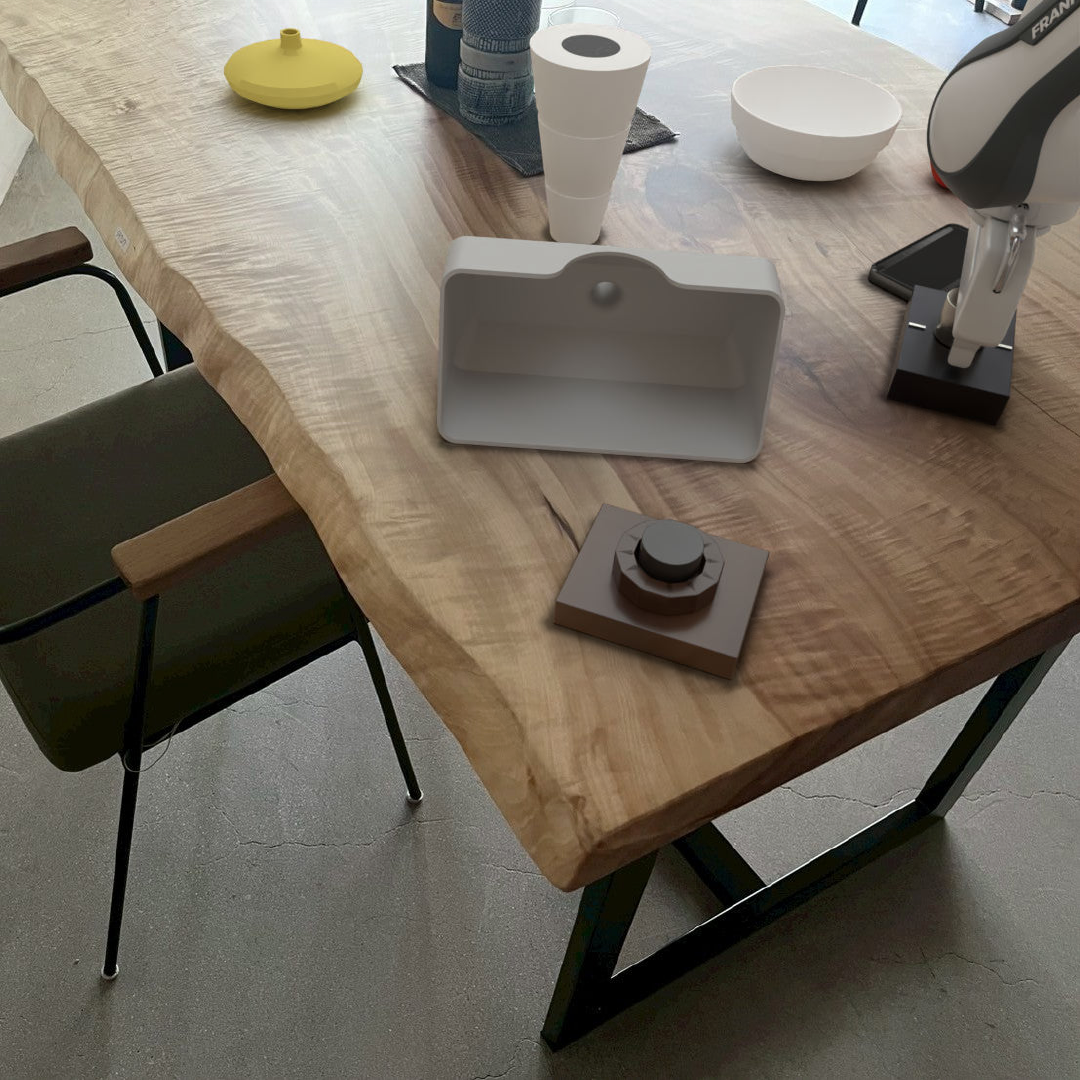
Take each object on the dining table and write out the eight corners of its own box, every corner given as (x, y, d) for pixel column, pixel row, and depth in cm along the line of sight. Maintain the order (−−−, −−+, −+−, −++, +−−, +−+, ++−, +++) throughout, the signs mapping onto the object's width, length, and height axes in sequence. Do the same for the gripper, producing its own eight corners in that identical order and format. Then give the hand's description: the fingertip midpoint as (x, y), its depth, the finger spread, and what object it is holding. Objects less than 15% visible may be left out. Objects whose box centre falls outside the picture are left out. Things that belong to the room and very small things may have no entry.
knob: (930, 342, 88) (945, 304, 86) (937, 316, 91) (951, 278, 88) (983, 357, 87) (1000, 318, 85) (988, 330, 90) (1005, 291, 87)
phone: (866, 267, 100) (953, 220, 107) (863, 277, 101) (949, 230, 108) (936, 304, 96) (1021, 253, 103) (932, 314, 97) (1017, 263, 104)
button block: (763, 572, 73) (776, 532, 70) (731, 680, 66) (743, 640, 63) (599, 524, 75) (605, 483, 72) (552, 623, 68) (556, 582, 66)
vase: (238, 65, 127) (228, 3, 122) (368, 70, 129) (364, 9, 124) (217, 122, 116) (206, 57, 111) (360, 126, 118) (356, 62, 113)
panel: (904, 312, 97) (915, 282, 95) (1004, 336, 95) (1017, 306, 93) (886, 397, 88) (897, 367, 85) (996, 425, 86) (1010, 395, 84)
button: (706, 549, 69) (710, 530, 68) (691, 591, 66) (695, 572, 65) (648, 532, 70) (651, 513, 68) (630, 572, 67) (634, 553, 66)
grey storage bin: (740, 344, 92) (770, 213, 83) (759, 464, 81) (796, 327, 72) (456, 324, 92) (456, 190, 83) (436, 442, 80) (433, 302, 72)
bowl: (872, 135, 124) (890, 73, 118) (893, 211, 111) (915, 144, 106) (717, 120, 124) (729, 57, 119) (721, 193, 111) (734, 127, 106)
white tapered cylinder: (649, 235, 104) (676, 49, 91) (580, 275, 98) (598, 81, 86) (569, 196, 109) (584, 14, 96) (498, 231, 103) (504, 42, 90)
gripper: (1067, 251, 71) (993, 411, 81) (1069, 133, 85) (1006, 282, 95) (972, 231, 73) (911, 390, 82) (990, 117, 86) (935, 266, 96)
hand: (962, 331), depth 89 cm, fingers open, 8 cm apart
